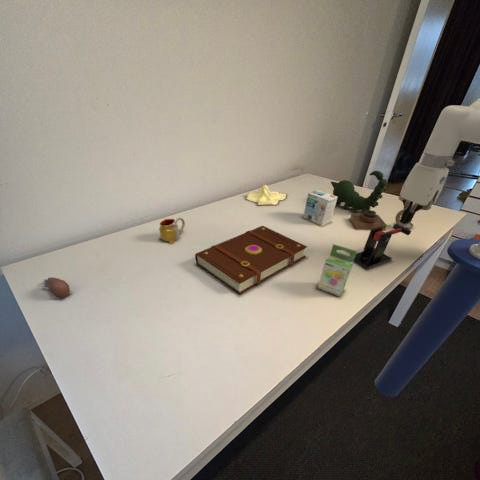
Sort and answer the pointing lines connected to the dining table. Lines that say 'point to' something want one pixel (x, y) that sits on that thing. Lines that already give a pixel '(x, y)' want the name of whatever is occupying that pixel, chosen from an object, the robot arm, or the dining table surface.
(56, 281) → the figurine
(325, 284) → the ink box
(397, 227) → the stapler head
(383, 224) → the button block
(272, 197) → the cloth
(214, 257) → the book
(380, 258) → the black lever stand
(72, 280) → the dining table surface
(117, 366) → the dining table surface
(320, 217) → the light bulb box
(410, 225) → the pocket watch
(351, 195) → the toy figurine
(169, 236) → the mug
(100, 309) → the dining table surface
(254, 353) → the dining table surface
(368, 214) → the button
